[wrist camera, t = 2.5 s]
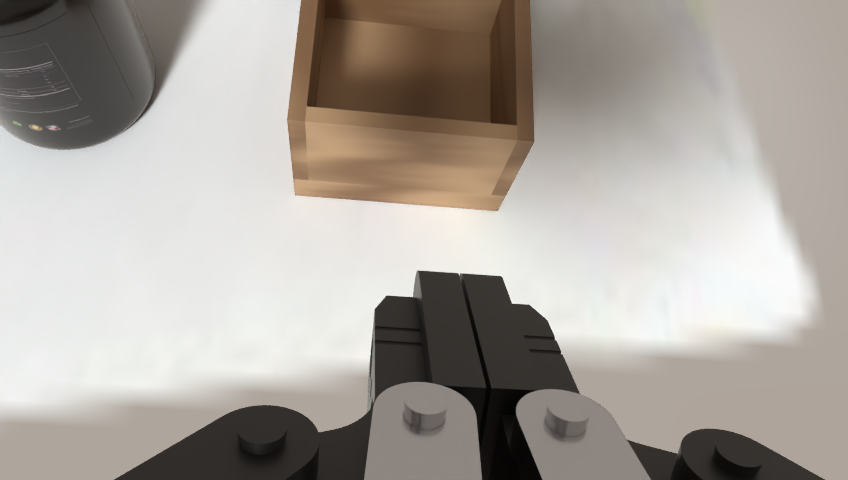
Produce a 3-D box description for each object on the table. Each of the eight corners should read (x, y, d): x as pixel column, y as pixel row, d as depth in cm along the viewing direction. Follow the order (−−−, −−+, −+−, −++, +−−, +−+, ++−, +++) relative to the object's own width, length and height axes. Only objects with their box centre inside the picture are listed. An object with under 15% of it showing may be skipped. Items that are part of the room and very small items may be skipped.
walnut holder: (295, 194, 30) (287, 119, 24) (313, 26, 33) (309, -73, 28) (497, 210, 31) (534, 141, 25) (495, 45, 34) (528, -48, 29)
